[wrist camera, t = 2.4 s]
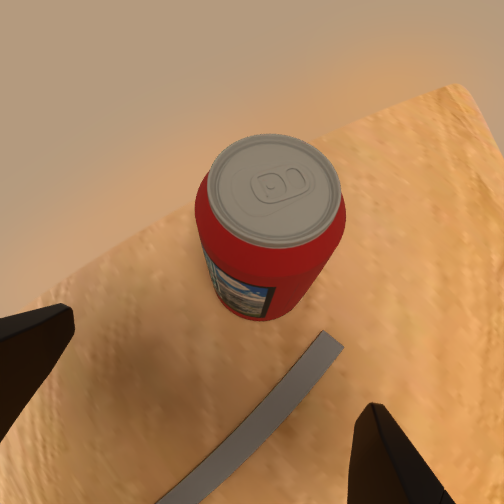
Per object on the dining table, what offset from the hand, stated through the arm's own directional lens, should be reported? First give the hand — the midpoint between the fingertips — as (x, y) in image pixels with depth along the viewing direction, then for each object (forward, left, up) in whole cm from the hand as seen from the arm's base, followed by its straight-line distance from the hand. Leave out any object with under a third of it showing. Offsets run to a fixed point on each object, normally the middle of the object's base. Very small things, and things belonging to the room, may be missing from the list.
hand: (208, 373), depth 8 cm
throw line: (-3, -4, -13) cm, 14 cm away
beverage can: (+7, +3, -14) cm, 16 cm away
